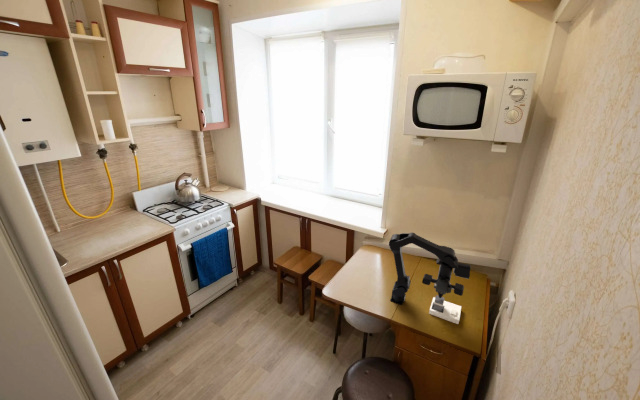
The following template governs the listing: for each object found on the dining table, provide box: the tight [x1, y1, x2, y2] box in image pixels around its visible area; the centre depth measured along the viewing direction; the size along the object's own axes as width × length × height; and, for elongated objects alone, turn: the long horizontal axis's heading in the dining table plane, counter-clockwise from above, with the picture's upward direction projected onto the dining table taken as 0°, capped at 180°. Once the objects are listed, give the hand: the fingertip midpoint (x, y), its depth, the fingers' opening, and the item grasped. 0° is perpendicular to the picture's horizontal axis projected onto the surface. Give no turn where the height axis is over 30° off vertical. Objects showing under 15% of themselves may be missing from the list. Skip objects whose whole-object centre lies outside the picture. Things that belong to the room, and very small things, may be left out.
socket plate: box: [428, 296, 462, 325], centre depth 144 cm, size 14×11×3 cm
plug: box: [433, 294, 445, 312], centre depth 143 cm, size 4×4×8 cm
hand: (439, 297), depth 142 cm, fingers closed
